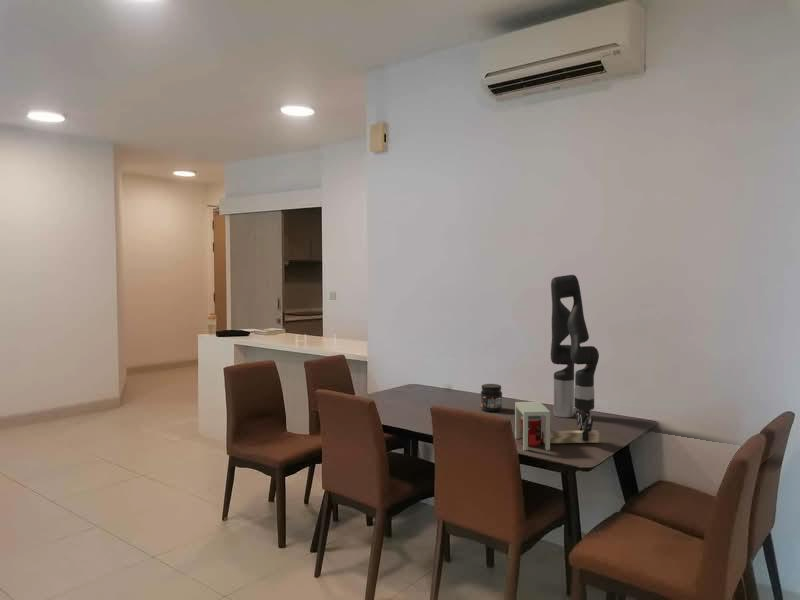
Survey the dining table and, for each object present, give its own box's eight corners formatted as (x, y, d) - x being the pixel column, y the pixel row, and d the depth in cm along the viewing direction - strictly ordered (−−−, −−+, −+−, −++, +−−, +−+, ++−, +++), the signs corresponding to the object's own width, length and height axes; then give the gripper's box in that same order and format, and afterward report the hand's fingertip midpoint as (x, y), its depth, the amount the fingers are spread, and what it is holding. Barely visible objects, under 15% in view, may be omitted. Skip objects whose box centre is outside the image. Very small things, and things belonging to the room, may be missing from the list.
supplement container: (482, 406, 290) (482, 382, 289) (503, 408, 287) (503, 384, 286) (478, 411, 280) (478, 387, 279) (500, 413, 277) (500, 388, 276)
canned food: (518, 441, 233) (518, 414, 232) (537, 440, 234) (537, 413, 233) (523, 447, 225) (523, 419, 225) (543, 446, 226) (543, 418, 225)
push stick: (543, 443, 228) (543, 433, 228) (541, 441, 231) (541, 431, 231) (599, 442, 228) (599, 432, 228) (596, 440, 231) (596, 430, 231)
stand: (515, 437, 238) (515, 401, 237) (539, 437, 238) (539, 401, 237) (523, 450, 222) (524, 412, 221) (549, 450, 222) (550, 411, 221)
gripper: (569, 392, 236) (569, 434, 237) (580, 400, 222) (580, 445, 223) (587, 392, 236) (587, 433, 237) (600, 400, 222) (599, 444, 223)
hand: (584, 439), depth 230 cm, fingers closed on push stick, 3 cm apart
